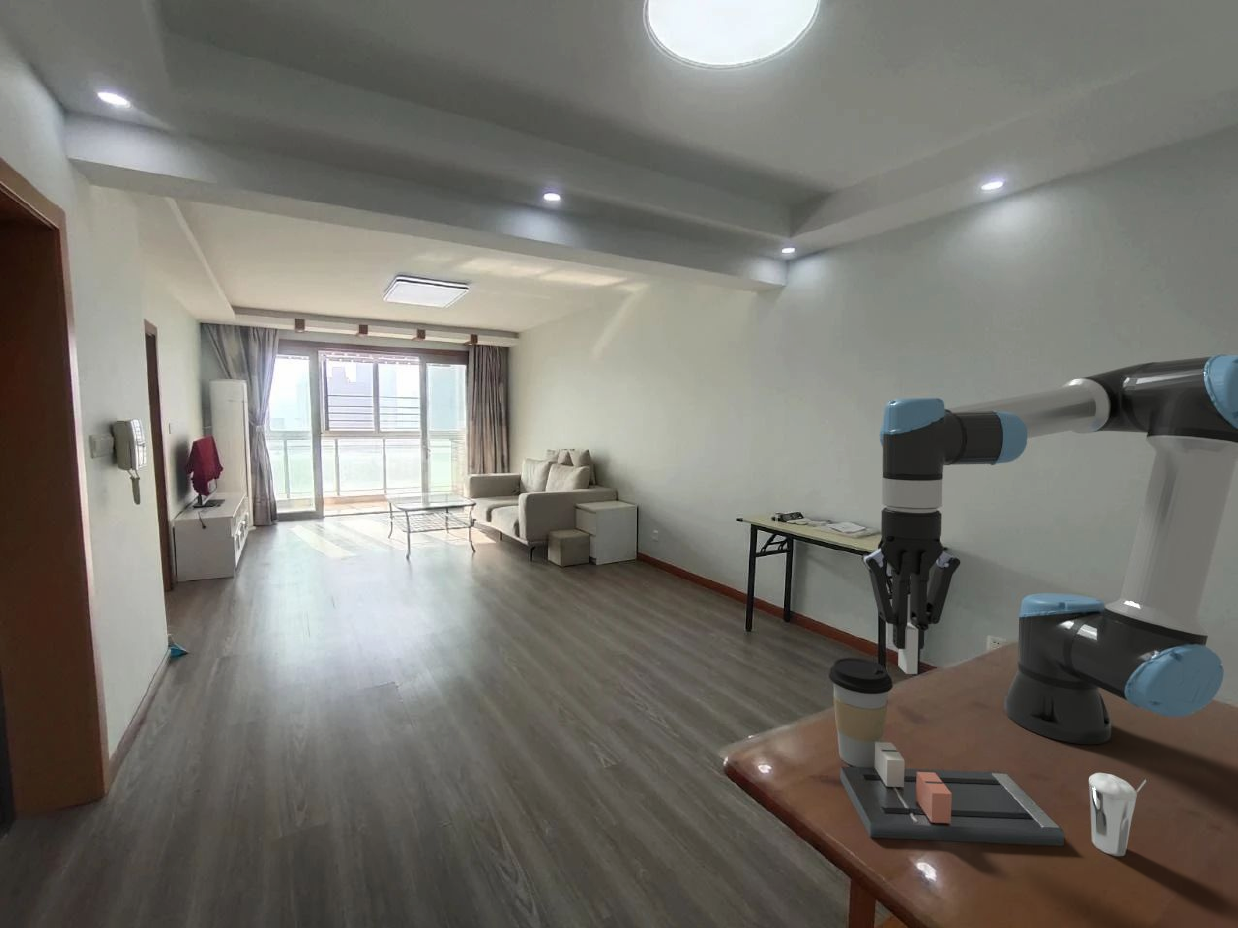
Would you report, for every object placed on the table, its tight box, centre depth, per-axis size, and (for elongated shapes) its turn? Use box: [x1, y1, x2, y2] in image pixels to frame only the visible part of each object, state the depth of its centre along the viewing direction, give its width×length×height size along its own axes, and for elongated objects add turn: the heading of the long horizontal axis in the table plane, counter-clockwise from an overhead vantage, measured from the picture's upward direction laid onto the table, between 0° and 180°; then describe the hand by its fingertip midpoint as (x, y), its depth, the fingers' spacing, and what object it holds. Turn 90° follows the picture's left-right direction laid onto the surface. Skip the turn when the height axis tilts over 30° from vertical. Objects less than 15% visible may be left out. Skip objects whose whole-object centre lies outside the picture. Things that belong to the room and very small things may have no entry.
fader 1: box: [874, 741, 906, 787], centre depth 81 cm, size 2×4×4 cm, turn 176°
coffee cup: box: [828, 657, 894, 768], centre depth 89 cm, size 9×9×15 cm
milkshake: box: [1088, 772, 1147, 857], centre depth 70 cm, size 4×5×10 cm
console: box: [839, 765, 1065, 847], centre depth 78 cm, size 24×12×2 cm, turn 86°
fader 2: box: [916, 772, 952, 823], centre depth 74 cm, size 2×4×4 cm, turn 176°
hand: (907, 669), depth 80 cm, fingers closed
